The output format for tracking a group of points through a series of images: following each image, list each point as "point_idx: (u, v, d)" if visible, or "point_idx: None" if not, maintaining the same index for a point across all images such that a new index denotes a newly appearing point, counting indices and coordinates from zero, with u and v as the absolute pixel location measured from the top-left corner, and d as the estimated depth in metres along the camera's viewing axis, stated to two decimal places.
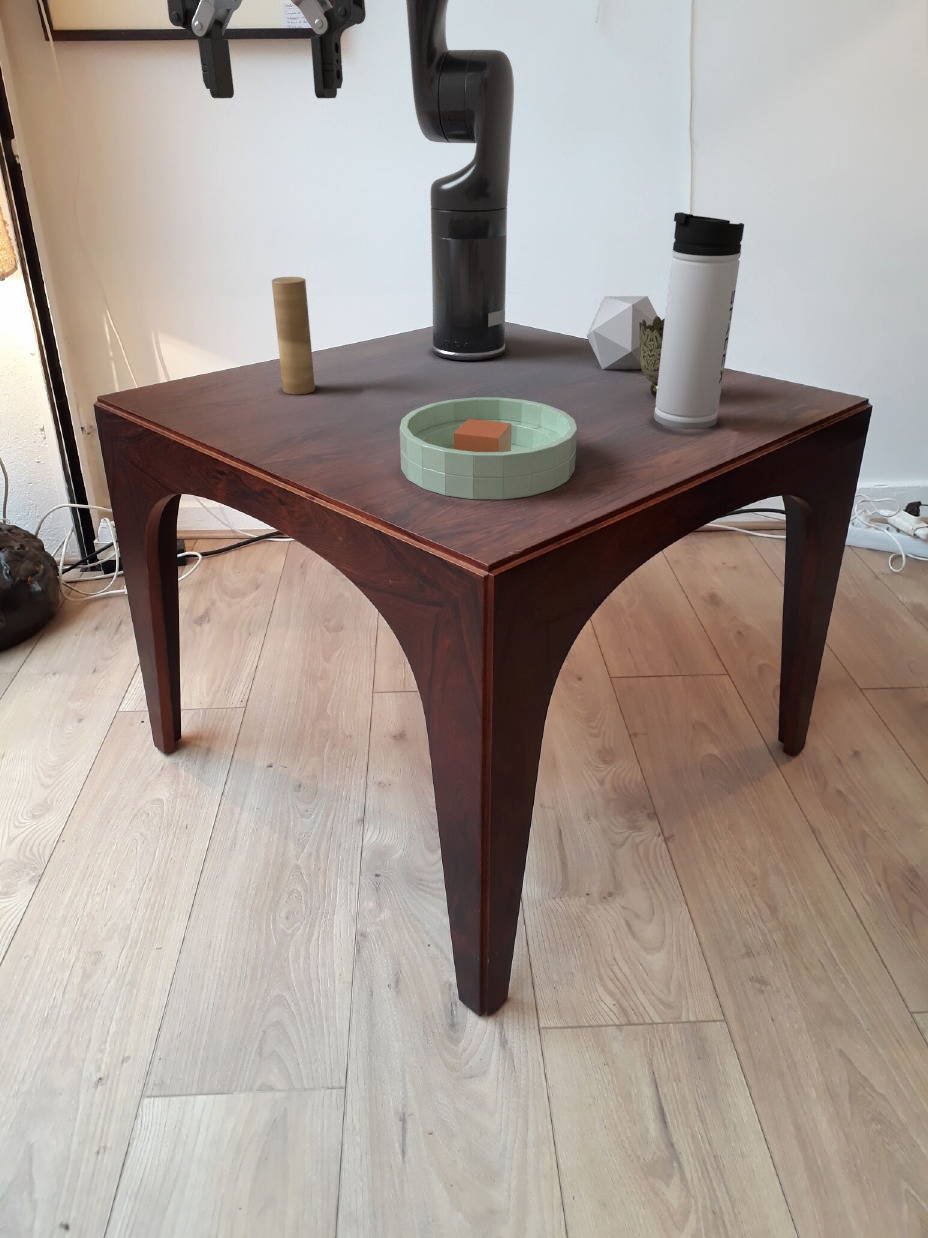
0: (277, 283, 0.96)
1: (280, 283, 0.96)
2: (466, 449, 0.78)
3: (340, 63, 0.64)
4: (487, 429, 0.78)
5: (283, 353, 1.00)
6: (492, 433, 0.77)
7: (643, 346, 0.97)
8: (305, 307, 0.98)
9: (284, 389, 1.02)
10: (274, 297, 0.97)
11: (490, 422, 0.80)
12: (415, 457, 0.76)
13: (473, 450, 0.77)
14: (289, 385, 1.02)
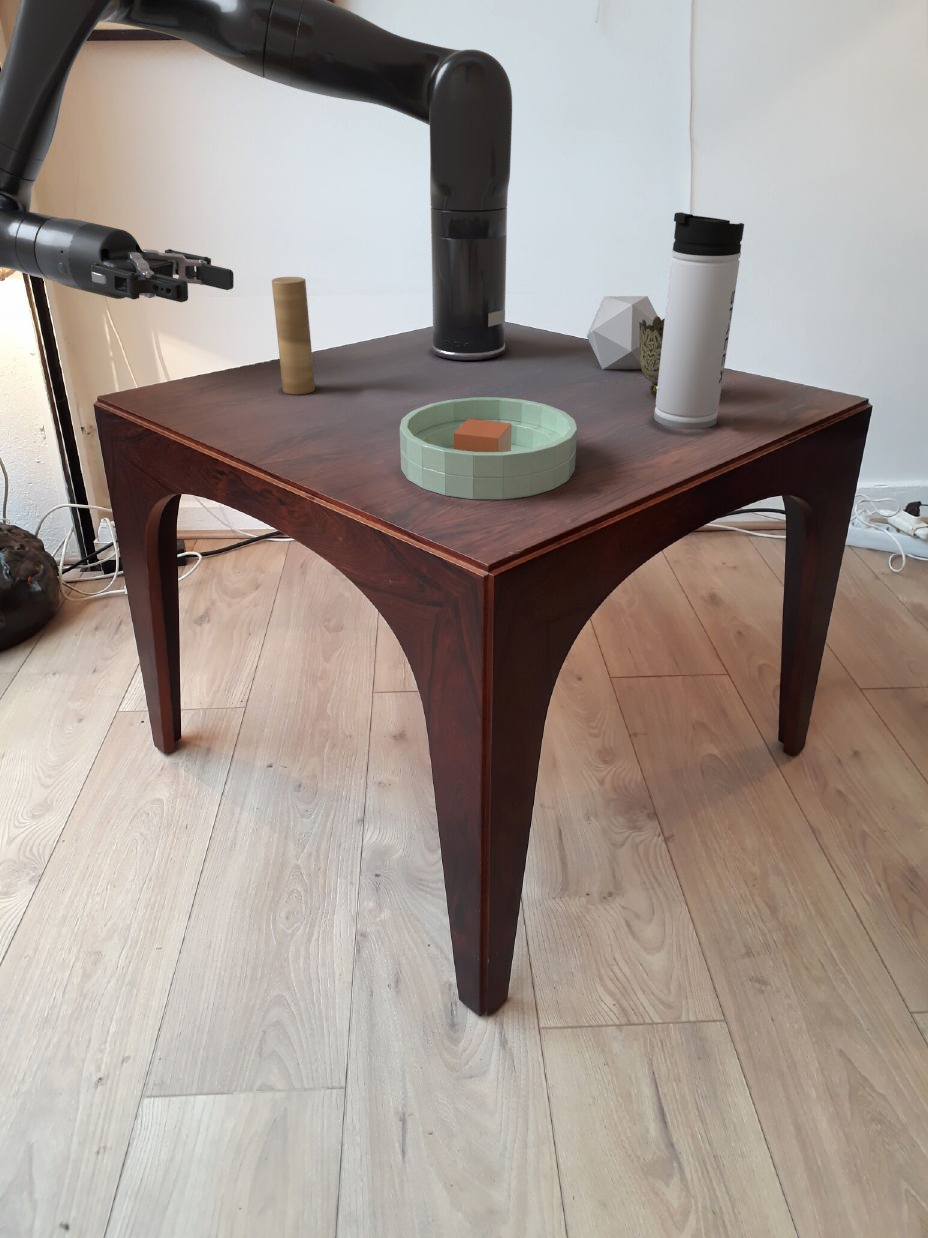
0: (277, 283, 0.96)
1: (280, 283, 0.96)
2: (466, 449, 0.78)
3: (163, 285, 0.96)
4: (487, 429, 0.78)
5: (283, 353, 1.00)
6: (492, 433, 0.77)
7: (643, 346, 0.97)
8: (305, 307, 0.98)
9: (284, 389, 1.02)
10: (274, 297, 0.97)
11: (490, 422, 0.80)
12: (415, 457, 0.76)
13: (473, 450, 0.77)
14: (289, 385, 1.02)
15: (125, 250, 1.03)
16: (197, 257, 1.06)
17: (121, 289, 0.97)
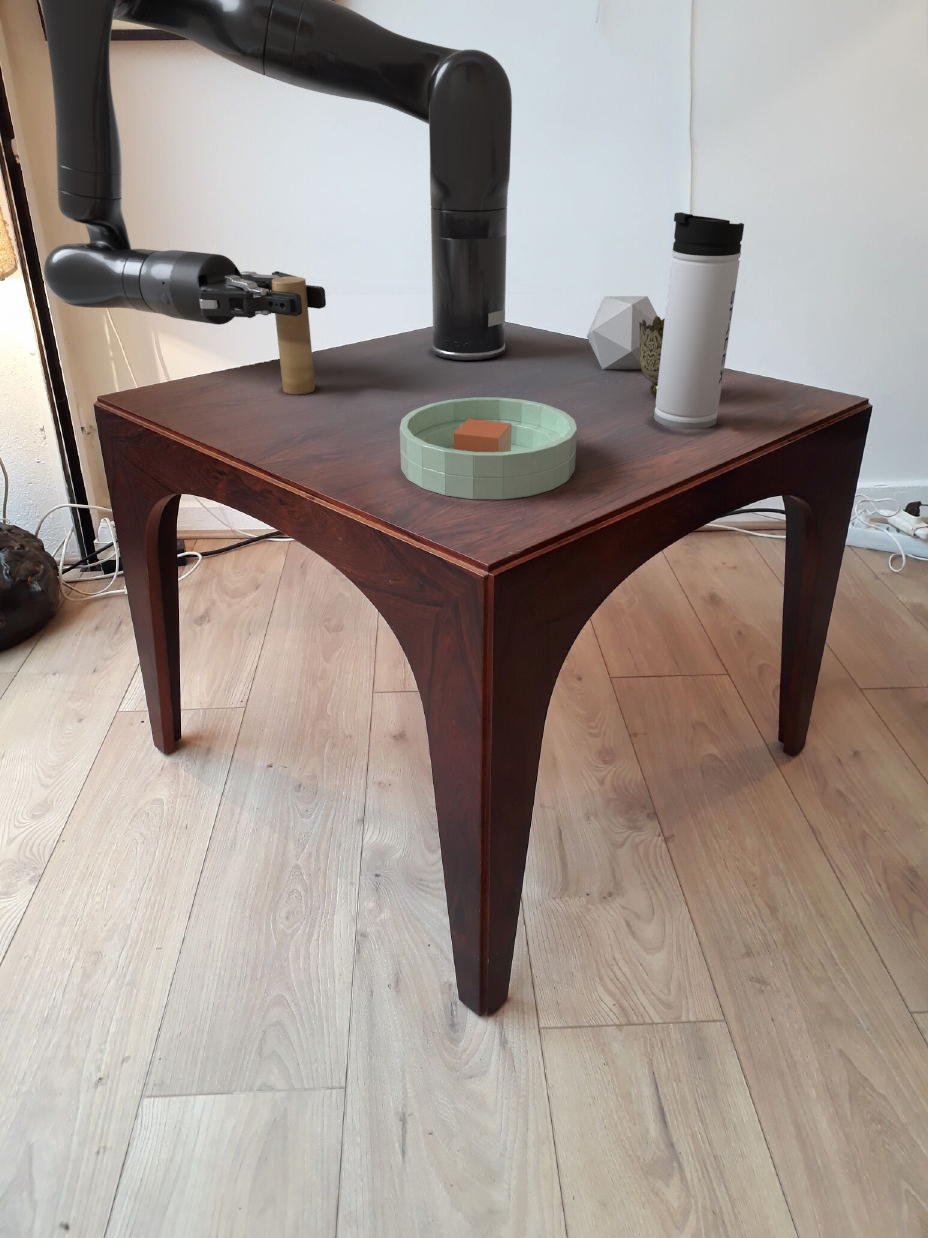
0: (277, 284, 0.96)
1: (280, 283, 0.96)
2: (466, 449, 0.78)
3: (277, 300, 0.96)
4: (487, 429, 0.78)
5: (284, 353, 1.00)
6: (492, 433, 0.77)
7: (643, 346, 0.97)
8: (305, 307, 0.98)
9: (284, 389, 1.02)
10: None
11: (490, 422, 0.80)
12: (415, 457, 0.76)
13: (473, 450, 0.77)
14: (289, 385, 1.02)
15: (224, 274, 1.02)
16: None
17: (234, 310, 0.97)
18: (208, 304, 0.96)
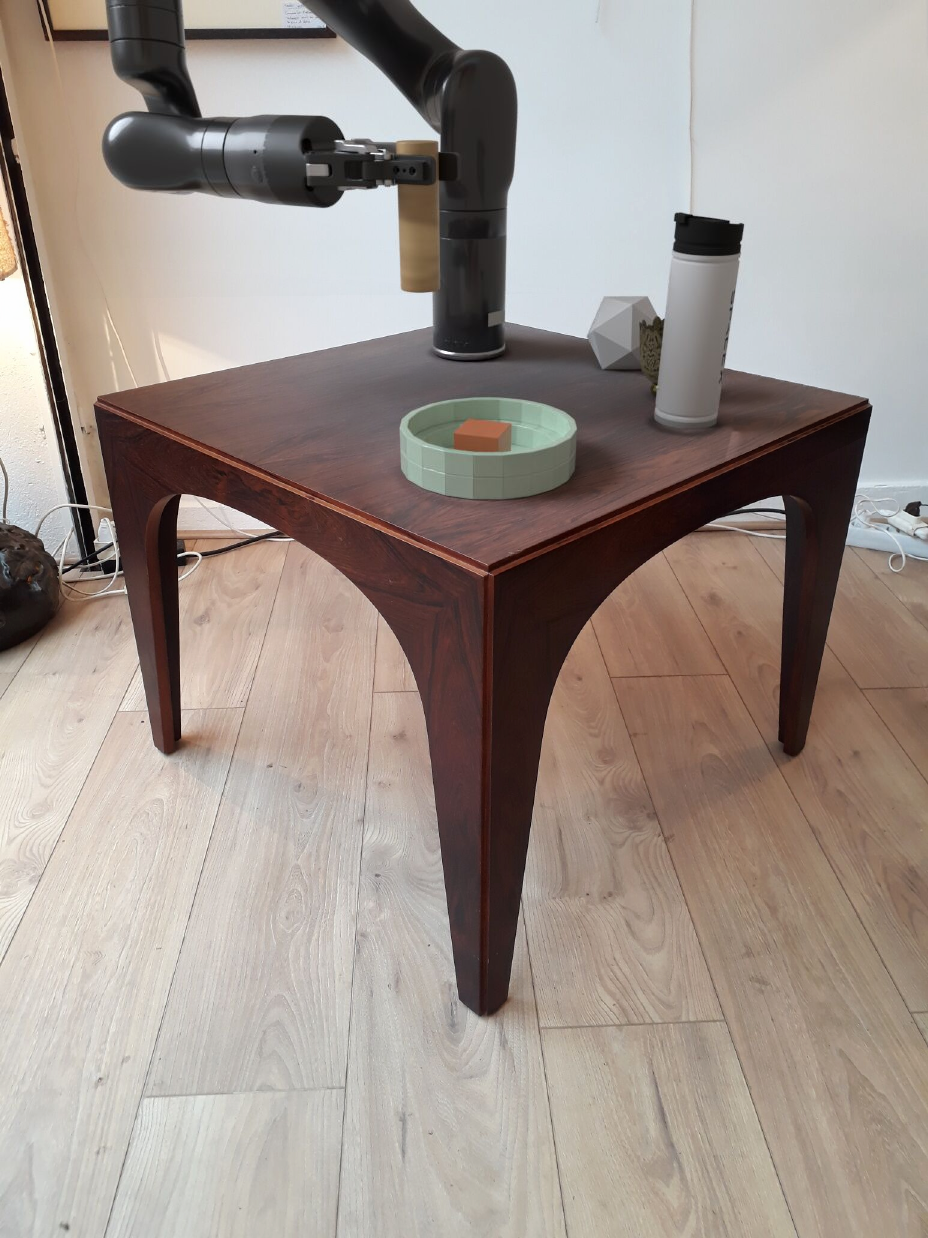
0: (404, 144, 0.76)
1: (409, 143, 0.76)
2: (466, 449, 0.78)
3: (405, 165, 0.75)
4: (487, 429, 0.78)
5: (407, 238, 0.80)
6: (492, 433, 0.77)
7: (643, 346, 0.97)
8: (437, 177, 0.78)
9: (403, 286, 0.82)
10: None
11: (490, 422, 0.80)
12: (415, 457, 0.76)
13: (473, 450, 0.77)
14: (410, 281, 0.81)
15: (330, 142, 0.82)
16: None
17: (350, 179, 0.76)
18: (317, 170, 0.76)
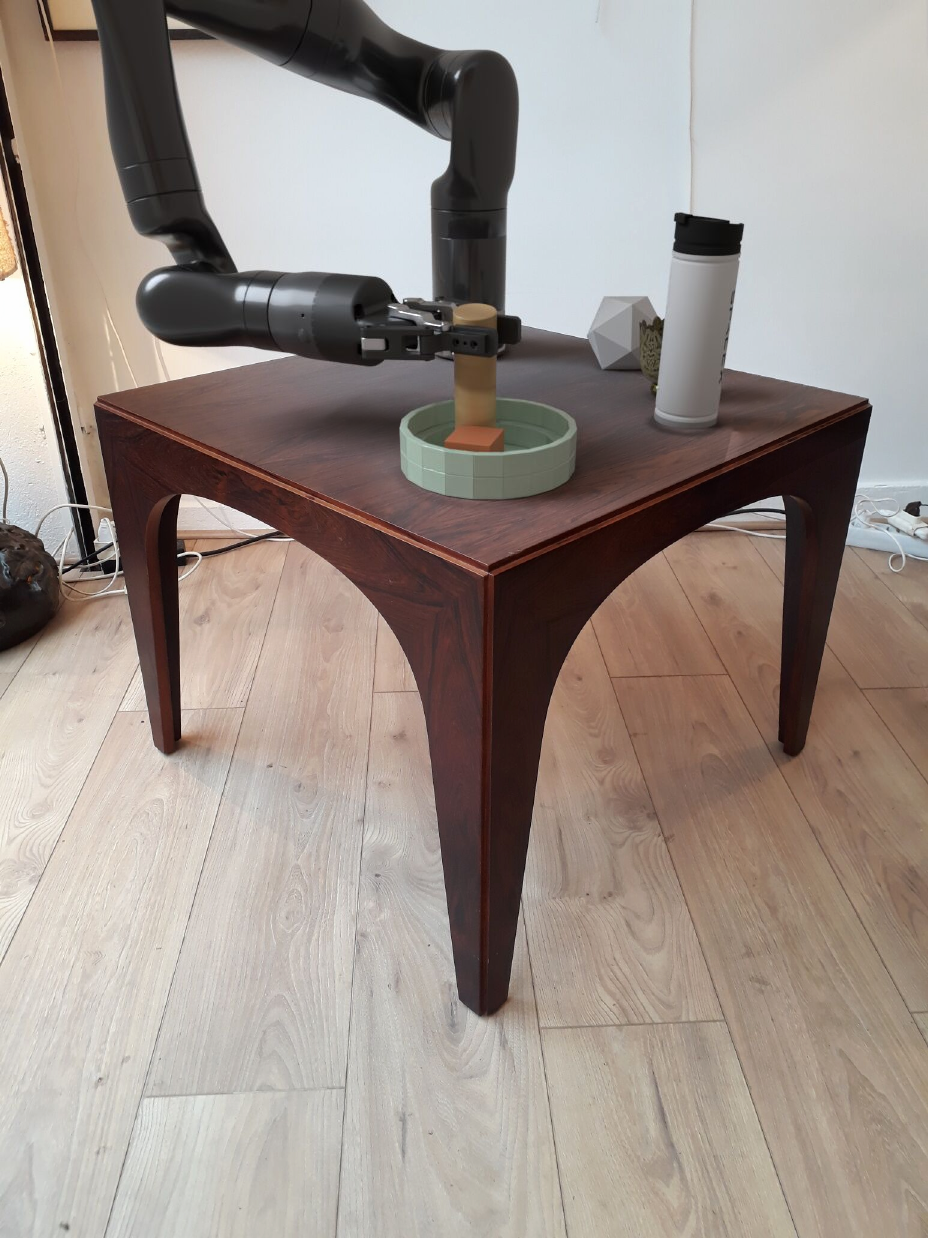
0: (461, 320, 0.73)
1: (465, 320, 0.73)
2: None
3: (466, 338, 0.72)
4: (479, 436, 0.76)
5: (462, 403, 0.77)
6: (484, 440, 0.75)
7: (643, 346, 0.97)
8: None
9: None
10: None
11: (482, 428, 0.78)
12: (415, 457, 0.76)
13: None
14: None
15: (380, 302, 0.78)
16: None
17: (407, 352, 0.73)
18: (373, 344, 0.72)
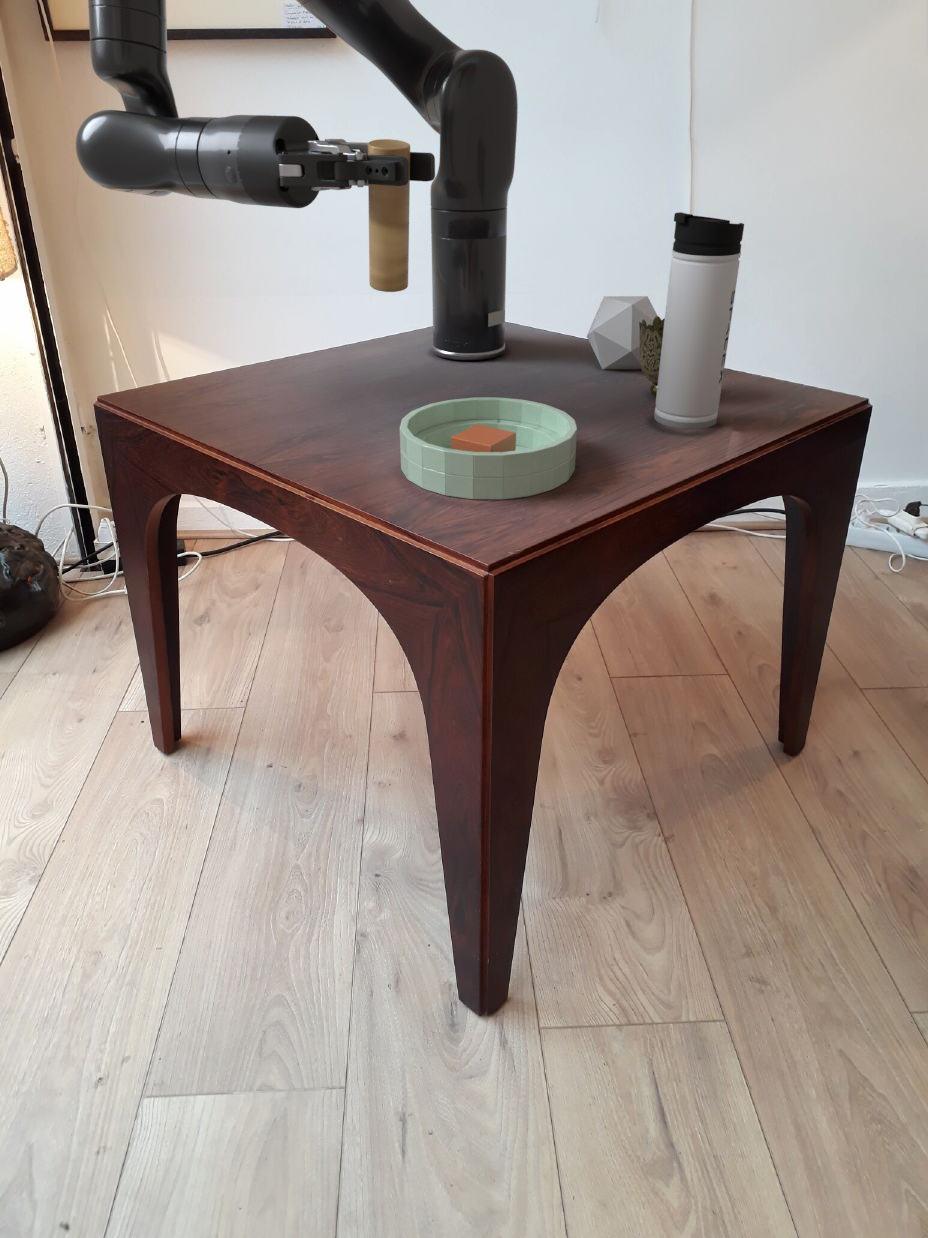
0: (372, 148, 0.76)
1: (376, 148, 0.76)
2: None
3: (378, 165, 0.75)
4: (487, 436, 0.76)
5: (373, 238, 0.81)
6: (489, 440, 0.76)
7: (643, 346, 0.97)
8: None
9: (370, 282, 0.84)
10: None
11: (495, 429, 0.78)
12: (415, 457, 0.76)
13: None
14: (375, 279, 0.83)
15: (304, 143, 0.82)
16: None
17: (323, 179, 0.77)
18: (290, 170, 0.76)
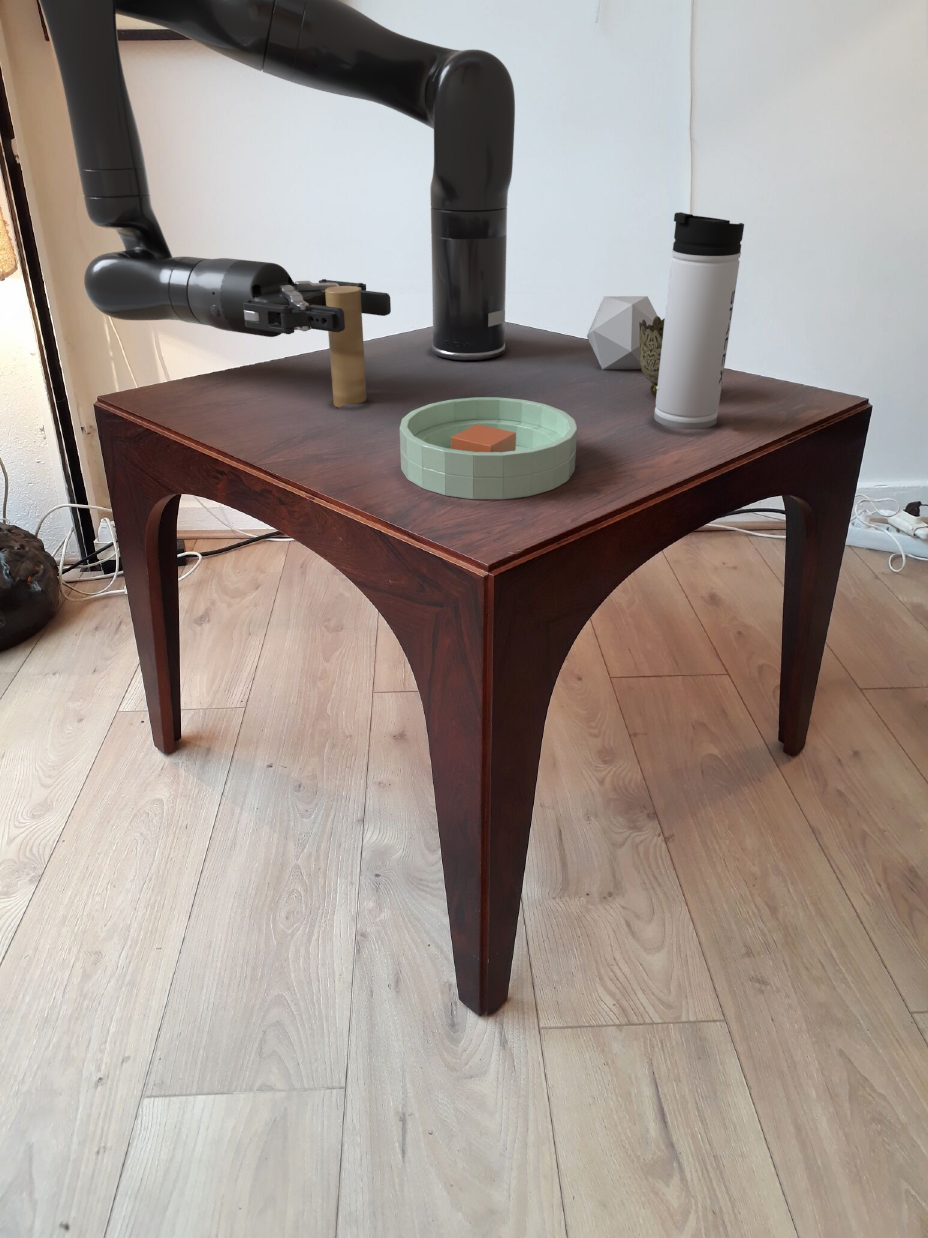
0: (328, 293, 0.92)
1: (331, 293, 0.92)
2: None
3: (318, 316, 0.89)
4: (487, 436, 0.76)
5: (333, 365, 0.96)
6: (489, 440, 0.76)
7: (643, 346, 0.97)
8: (357, 318, 0.93)
9: (334, 402, 0.98)
10: None
11: (495, 429, 0.78)
12: (415, 457, 0.76)
13: None
14: (337, 399, 0.97)
15: (277, 284, 0.96)
16: (351, 284, 0.98)
17: (275, 325, 0.90)
18: (250, 316, 0.90)
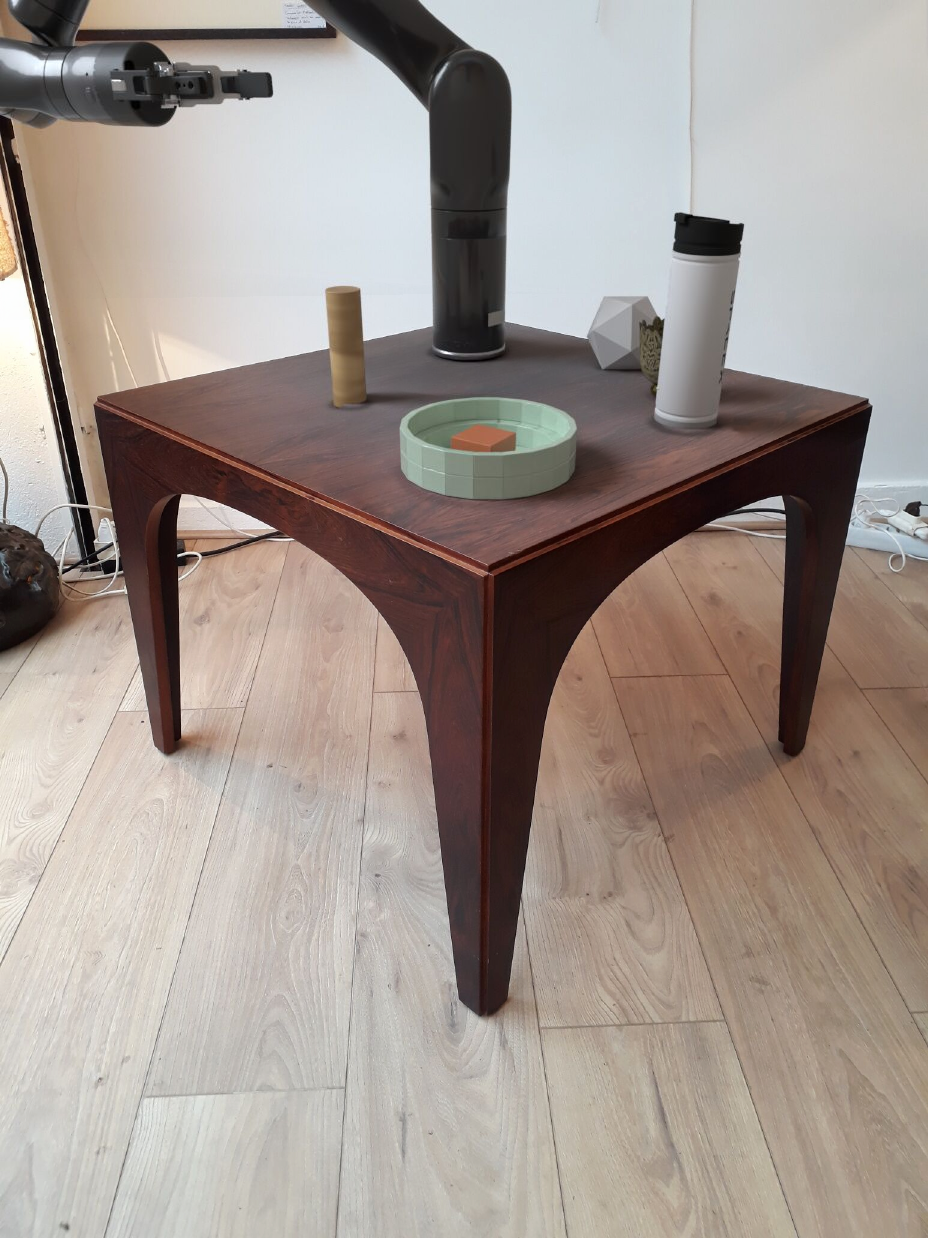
0: (328, 293, 0.92)
1: (331, 293, 0.92)
2: None
3: (184, 80, 0.84)
4: (487, 436, 0.76)
5: (333, 365, 0.96)
6: (489, 440, 0.76)
7: (643, 346, 0.97)
8: (357, 318, 0.93)
9: (334, 402, 0.98)
10: (326, 307, 0.93)
11: (495, 429, 0.78)
12: (415, 457, 0.76)
13: None
14: (337, 399, 0.97)
15: None
16: None
17: (142, 94, 0.85)
18: (117, 85, 0.86)
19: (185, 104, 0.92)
